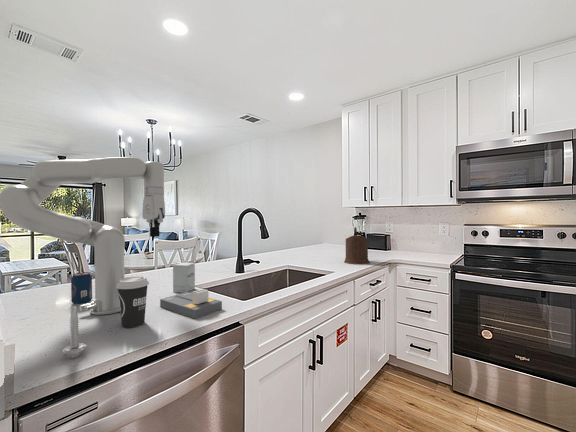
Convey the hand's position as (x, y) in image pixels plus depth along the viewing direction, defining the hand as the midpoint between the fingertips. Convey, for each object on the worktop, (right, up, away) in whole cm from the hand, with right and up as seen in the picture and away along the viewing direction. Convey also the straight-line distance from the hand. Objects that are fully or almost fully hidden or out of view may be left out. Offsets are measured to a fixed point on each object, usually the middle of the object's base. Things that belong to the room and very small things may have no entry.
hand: (154, 236), depth 116 cm
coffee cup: (+4, -28, -23) cm, 36 cm away
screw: (0, -28, -44) cm, 52 cm away
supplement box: (+6, -27, +17) cm, 33 cm away
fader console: (+18, -27, -8) cm, 33 cm away
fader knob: (+23, -24, -11) cm, 35 cm away
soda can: (-30, -28, 0) cm, 41 cm away
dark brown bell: (+106, -26, +92) cm, 143 cm away
